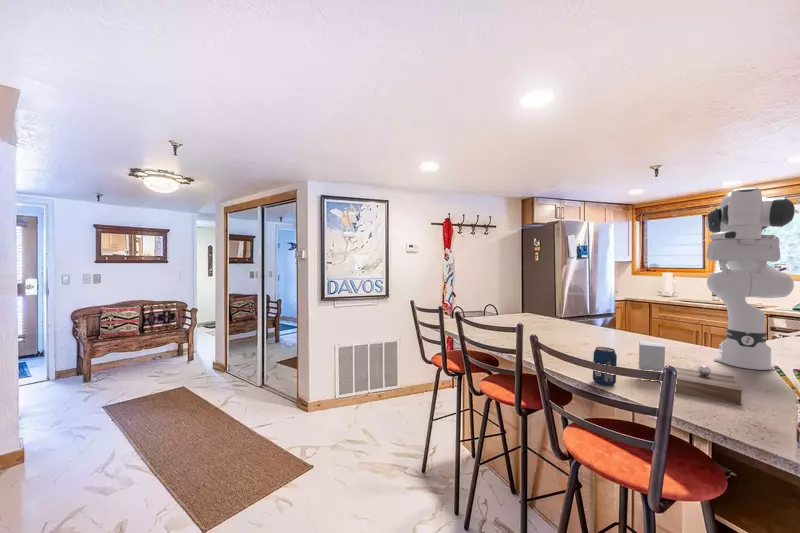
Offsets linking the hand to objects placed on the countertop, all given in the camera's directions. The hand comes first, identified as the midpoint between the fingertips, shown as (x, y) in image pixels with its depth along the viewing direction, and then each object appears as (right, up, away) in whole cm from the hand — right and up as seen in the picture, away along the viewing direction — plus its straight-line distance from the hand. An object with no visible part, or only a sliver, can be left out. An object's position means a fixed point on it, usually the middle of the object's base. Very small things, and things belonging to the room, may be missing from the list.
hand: (741, 274), depth 128 cm
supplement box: (-29, -38, +5) cm, 48 cm away
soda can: (-49, -38, -2) cm, 62 cm away
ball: (-13, -34, 0) cm, 36 cm away
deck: (-17, -38, -5) cm, 42 cm away
